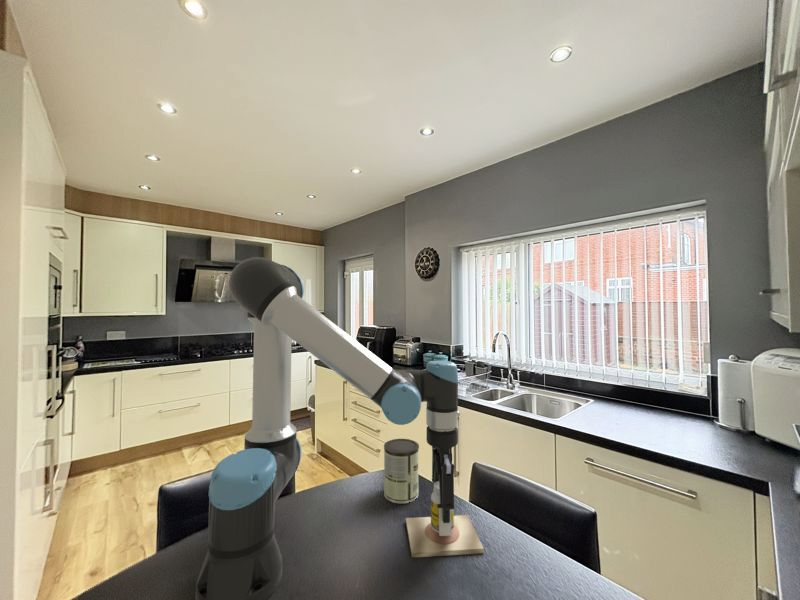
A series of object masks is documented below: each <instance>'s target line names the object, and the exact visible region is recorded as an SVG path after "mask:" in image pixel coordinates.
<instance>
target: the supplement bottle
mask: <svg viewBox="0 0 800 600" xmlns="http://www.w3.org/2000/svg"><path fill="white" fill-rule="evenodd" d="M433 484H434V487H433V491H432V493H431V495H430V517H431V527H432V529H433V530H434V531H436V532H438V533H439V508H437V504H440V489H439V481H437V482H435V483H433ZM454 509H455V508H454ZM454 509H451V531H452V530H453V528H454V516H455V513H454V511H455V510H454Z"/></svg>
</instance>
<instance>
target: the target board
mask: <svg viewBox="0 0 800 600" xmlns="http://www.w3.org/2000/svg"><path fill="white" fill-rule="evenodd" d="M405 524H406V531H407V537H408V543H409V549H410V555H411V558H424V557H425V558H427V557H429V558H430V557H444V556H459V555H460V556H462V555H475V554H476V555H477V554H484V553H485V551H484V550H485V549H484V546H483V544H482V542H481V540H480V537H479V536H478V533H477V531H476V529H475V527H474V525H473V523H472V521H471V519H470V517H469V515H468V514H462V515H460V514H459V515H454V528H453V530H452V531H451V535H449V536H439V533H438V532H436V531H434V530H433V529H432V527H431V516H423V517H422V516H419V517H406V518H405Z"/></svg>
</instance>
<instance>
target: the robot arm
mask: <svg viewBox="0 0 800 600" xmlns="http://www.w3.org/2000/svg"><path fill="white" fill-rule="evenodd" d="M228 288H229V292H230V295H231V297H232V298H233V300H234V301H235V303H237V304H238V306H240V307H241V308H242V309H243V310H245V311H246V312H247V315H246V316H247V320H248V321H249V322H250V323H251V324H252V325H253V364H252V366H253V367H252V369H253V370H252V412H251V413H252V416H251V418H252V419H251V427H250V428H249V430H247V431H246V432H245V434H244V445H243V446H244V448H243V449H242V450H238V451H237V452H236V453H231V454H229V455H227V456H226V457H224V458H223V459H222V460H220V461H219V462H218V464H216V466H215V467H214V468H213V470H212V473H211V475H210V483H209V487H208V498H209V499H208V500H209V501H208V504H209V505H208V528H207V529H208V531H207V532H208V533H207V534H208V538H207V541H208V543H207V552H206V555H205V557H204V558H205V559H204V560H203V563H202V566H201V569H200V572H199V574H198V577H197V580H196V585H195V593H194V594H195V597H194V599H195V600H268V599H269V598H270V597H271V596H272V595H273V594H274V592H275V591H276V590H277V588H278V587H279V585H280V583H281V580H282V577H283V555H282V553H281V550H280V548H279V544H278V541H277V539H276V535H275V514H276V513H275V509H276V508H275V507H276V502H277V500H278V498H279V497H280V496H281V494H282V492H283V490H284V489H285V488H286V486H287V485H288V483H290V481H291V479H292V477H293V476H295V473H296V472H297V470H298V468H299V466H300V462H301V459H302V446H301V442H300V440H299V438H297V433H298V432H297V427H296V426H295V425H294V424H293V423H292V422H291V407H292V406H291V402H292V401H291V399H292V398H291V396H292V395H291V393H292V392H291V391H292V390H291V389H292V340H293V341H294V342H295V343H297V344H298V345H299V346H301V347H302V348H303V349H305V350H306V351H307V352H309V353H310V354H311V355H312V356H314V357H315V358H316V359H318V360H319V361H320V362H322V363H323V364H324V365H326V366H327V367H328V368H329V369H331V370H332V371H333V372H335V373H336V374H337V375H338V376H340V377H341V378H342V379H343V380H345V381H346V382H347V383H348V384H350V385H352V386H353V387H354V388H355V389H356V390H358V391H359V392H360V393H362V394H363V395H364V396H366V397H367V398H368V399H369V400H371V401H372V402H374V404H376V405H377V406H378V407H380V408H381V411H382V413H383V414H384V416H385V418H386V419H387V420H388V421H389V422H390V423H392V424H394V425H398V426H399V425H400V426H403V425H404V426H405V425H408V424H410V423H412V422H413V421H414V420H416V419H417V418H418V416H419V414H420V412H421V408H422V403H424V402H426V408H425V410H426V411H425V412H426V414H425V415H426V420H425V422H426V423H425V424H426V443H427V444H428V445H429V446H431V450H432V451H431V452H432V453H431V454H432V456H431V462H432V463H431V468H432V469H431V481H432V483H433V484H432V486H433V487H432V488H434V483H435V482H437V481H439V489H440V504H437V508H439V536H449V535H451V509H455V485H454V484H455V481H454V480H455V477H454V475H455V468H456V467H455V464H454V463H452V462H453V454H452V452H451V449H452V448H454V447H456V446H457V445H458V444H459V443H458V442H459V429H458V428H457V427H458V426H459V419H458V417H459V416H460V415H461V414H460V411H459V405H458V404H459V399H458V398H459V379H458V378H459V376H458V375H459V374H458V366H457V364H456V363H455V362H453V361H450V360H430V361H428V362H427V363H426V367H425V369H423V368H422V369H394V368H393V367H391V366H390V365H389V364H388V363H386V362H385V361H383V360H382V359H381V358H380V357H379V356H377V355H376V354H375V353H374V352H372V351H370V350H369V349H368V348H367V347H365V346H364V345H363V344H362V343H360V342H359V341H357V339H355V338H354V337H353V336H351V334H348V333H347V332H346V331H345V330H343V329H342V328H341V327H339V325H337V324H335V323H334V322H333V321H332V320H331V319H329V318H328V317H326V316H325V315H324V314H322V312H320V311H318V310H317V308H315V307H313V306H312V305H311V304H310V303H308V302H307V301H306V300H305V299H303V297H304V292H305V287H304V284H303V281H302V279H301V277H300V276H299V275H298V273H296V271H294V269H293V268H291V267H289V266H287V265H284V264H281V263H278V262H276V261H273V260H271V259H269V258H266V257H260V256H259V257H258V256H255V257H254V256H253V257H250V258H246V259H244V260H241V262H239V263H238V264H237V265H236V266H235V267H233V269H232V271H231V273H230V276H229V279H228Z"/></svg>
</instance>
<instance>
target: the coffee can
mask: <svg viewBox="0 0 800 600" xmlns="http://www.w3.org/2000/svg"><path fill="white" fill-rule="evenodd" d="M419 448H420V445H419V443H418V442H417V441H415V440H412V439H410V438H409V439H408V438H394V439H391V440H387V441H386V442H385V443H384V445H383V450H384V451H383V453H384V454H383V455H384V456H383V457H384V458H383V460H384V461H383V462H384V463H383V467H384V469H383V471H384V472H383V473H384V474H383V475H384V477H383V482H384V484H383V487H384V488H383V495H384V498H385V499H386V500H387V501H389V502H390V503H393V504H400V505H402V504H409V502H410V503H413V502H414V501H416V500H417V499H418V498H419V494H420V493H419ZM416 498H417V499H416ZM415 499H416V500H415Z"/></svg>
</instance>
